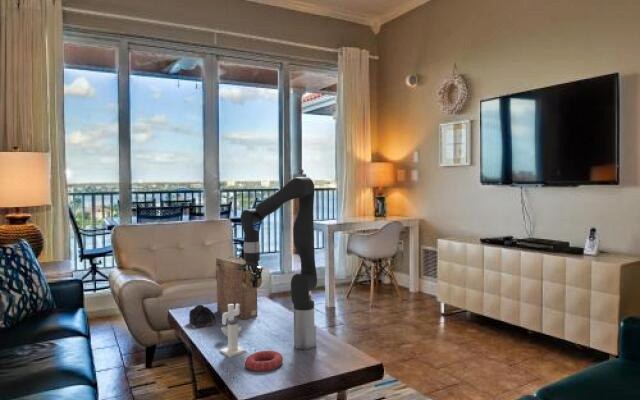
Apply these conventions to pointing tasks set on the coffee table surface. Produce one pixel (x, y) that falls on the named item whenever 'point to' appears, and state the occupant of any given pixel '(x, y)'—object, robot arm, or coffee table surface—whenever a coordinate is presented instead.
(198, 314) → the black rough rounded lump
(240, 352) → the post
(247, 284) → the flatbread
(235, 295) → the brown wooden box
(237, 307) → the figurine
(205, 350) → the coffee table surface
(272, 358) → the torus
